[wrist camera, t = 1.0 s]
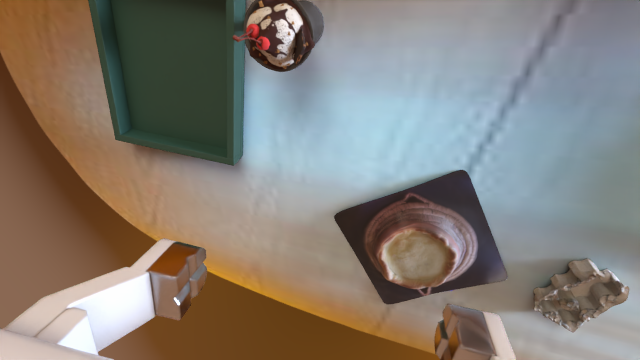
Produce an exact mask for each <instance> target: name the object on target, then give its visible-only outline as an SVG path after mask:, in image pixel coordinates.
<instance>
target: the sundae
mask: <svg viewBox="0 0 640 360" xmlns="http://www.w3.org/2000/svg"><path fill="white" fill-rule="evenodd" d="M323 27H324V24H323V17H322V15H321V12H320V11H319V9H318V8H317V7H316V6H315V5H314V4H313V3H311V2H308V1H305V0H301V1H298V0H255V1H254V2H253V3H252V4H251V5H250V7H249V9H248V11H247V13H246V16H245V20H244V34H243V35H242V36H240V37H237V36H236V35H234V36H233V39H234V40H236V41H237V42H240V41H242V40H245V43H246V46H247V48H248V50H249V53H250V56H251V57H253V58H254V59H255V60H256V61H257V62H258V63H260V64H261V65H262V66H264V67H266V68H268V69H271V70H274V71H278V72H284V71H290V70H292V69H294V68H296V67H298V66H299V65H301V64H302V63H303V62H304V61H305V60H306V59H307V57H308V56H309V54H310V53H311V50H312V48H314V46H315V43H316V42H317V41H318V40H319V38H320V37H321V35H322V32H323ZM242 37H244V38H242ZM240 38H242V39H240Z"/></svg>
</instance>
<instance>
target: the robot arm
mask: <svg viewBox="0 0 640 360" xmlns="http://www.w3.org/2000/svg"><path fill="white" fill-rule="evenodd" d="M205 259H206V250H205V249H204V248H201V247H197V246H193V245H189V244H185V243H181V242H176V241H172V240H168V239H165V238H164V239H161V240H159V241H158V242H157V243H156V244H155V245H154V246H152V247H151V248H150V249H149V250H148V251H147V252H146V253H145V254H144V255H143V256H142V257H141V258H140V259H139V260H138V261H137V262H135V263H134V264H133V265H132V266H131V267H130V268H128V267H124V268H121V269H119V270H116V271H113V272H111V273H108V274H105V275H102V276H100V277H97V278H94V279H91V280H89V281H86V282H83V283H81V284H78V285H75V286H72V287H70V288H67V289H65V290H62V291H59V292H56V293H53V294H51V295H48V296H45V297H43V298H42V299H40V300H39V301H38V302H36V303H35V304H34V305H33V306H31V307H30V308H29V309H27V310H26V311H25V312H24V313H22V314H21V315H20V316H19V317H17V318H16V319H15V320H14V321H12V322H11V323H10V324H9V325H7V326H6V327H5V328H3V329H1V328H0V360H113V359H109V358H106V357H102V356H99V355H98V351H100V350H101V349H103V348H105V347H106V346H108V345H110V344H111V343H113V342H115V341H116V340H118V339H119V338H121V337H123V336H124V335H125V334H128V333H129V332H131V331H133V330H134V329H136V328H137V327H139V326H141V325H142V324H144V323H145V322H147V321H149V320H150V319H152V318H154V317H155V315H157V316H162V317H166V318H171V319H175V320H181V318H182V317H183V316H184V314H185V313H186V311H187V310H188V308H189V307H190V306H191V298H193V297H195V296H197V295H198V294H199V293H200V291H201V290H202V288H203V286H204V283H205V281H206V276H207V267H206V266H205V265H204V263H203V261H204V260H205ZM443 317H444V319H443V320H442V321H440V322H438V325H437V328H436V332H435V352H436V354H437V355H438V357H439V358H440V360H517V359H516V357H515V354H514V352H513V349H512V347H511V344H510V341H509V339H508V336H507V334H506V331H505V329H504V326H503V323H502V321H501V318H500V316H499V315H498V314H494V313H489V312H485V311H479V310H474V309H470V308H465V307H461V306H456V305H452V304H447V305H446V306H445V308H444V310H443Z"/></svg>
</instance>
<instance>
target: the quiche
mask: <svg viewBox="0 0 640 360" xmlns="http://www.w3.org/2000/svg"><path fill="white" fill-rule="evenodd" d="M334 218H335V221H336V222H337V224H338V226H339V227H340V229H341V231H342V232H343V234H344V236H345V237H346V239H347V241H348V242H349V244H350V246H351V247H352V249H353V251H354V252H355V254H356V256H357V257H358V259H359V261H360V263H361V264H362V266H363V268H364V269H365V271H366V273H367V275H368V276H369V278H370V280H371V281H372V283H373V285H374V287H375V288H376V290H377V292H378V294H379V295H380V297H381V299H382V300H383V302H384V303H386V304H394V303H399V302H403V301H407V300H411V299H415V298H419V297H422V296H426V295H430V294H434V293H439V292H444V291H449V290H455V289H460V288H466V287H472V286H477V285H483V284H489V283H494V282H500V281H504V280H506V279H507V278H508V276H507V273H506V270H505V268H504V265H503V262H502V260H501V257H500V254H499V252H498V249H497V247H496V244H495V241H494V239H493V236H492V234H491V231H490V228H489V226H488V223H487V221H486V218H485V215H484V213H483V210H482V208H481V205H480V203H479V200H478V197H477V195H476V192H475V189H474V187H473V184H472V182H471V179H470V177H469V175H468V173H467V172H466V171H464V170H459V171H455V172H453V173H450V174H447V175H445V176H442V177H439V178H436V179H434V180H431V181H428V182H426V183H423V184H420V185H418V186H415V187H412V188H409V189H406V190H403V191H400V192H397V193H394V194H391V195H388V196H385V197H382V198H379V199H376V200H373V201H370V202H367V203H364V204H361V205H358V206H355V207H352V208H349V209H346V210H343V211H341V212H339V213H337V214H336V215H335V216H334Z"/></svg>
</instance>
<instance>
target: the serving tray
mask: <svg viewBox="0 0 640 360" xmlns="http://www.w3.org/2000/svg"><path fill="white" fill-rule="evenodd" d="M88 1H89V7H90V12H91V17H92V22H93V27H94V32H95V37H96V42H97V47H98V52H99V57H100V63H101V68H102V73H103V78H104V83H105V88H106V93H107V98H108V103H109V108H110V114H111V119H112V124H113V129H114V133H115V134H114V135H115V140H119V141H123V142H128V143H132V144H137V145H141V146H146V147H151V148H155V149H160V150H164V151H169V152H174V153H178V154H183V155H187V156H192V157H196V158H201V159H206V160H210V161H215V162H219V163H224V164H229V165H233V166H234V165H235V164H236V162H237V161H238V160H239V159H240V158H241V157H242V156H243V107H244V57H245V40H242V41H240V42H237V41H236V40H234V39H233V36H234V35H236V36H237V37H240V36H242V35H243V34H244V20H245V7H246V0H88ZM242 38H244V37H242ZM242 38H240V39H242Z"/></svg>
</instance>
